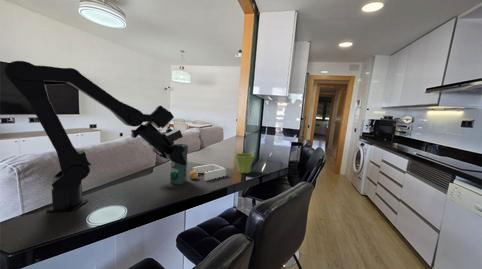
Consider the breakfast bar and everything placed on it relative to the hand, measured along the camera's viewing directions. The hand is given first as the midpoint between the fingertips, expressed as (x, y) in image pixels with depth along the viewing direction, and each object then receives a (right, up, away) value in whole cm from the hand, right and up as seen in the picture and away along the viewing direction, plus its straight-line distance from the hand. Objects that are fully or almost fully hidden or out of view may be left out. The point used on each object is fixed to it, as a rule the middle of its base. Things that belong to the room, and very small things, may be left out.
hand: (182, 163), depth 76 cm
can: (-2, -8, 0) cm, 8 cm away
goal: (+9, -7, +9) cm, 15 cm away
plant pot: (+26, -7, +16) cm, 31 cm away
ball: (+4, -7, +4) cm, 9 cm away
